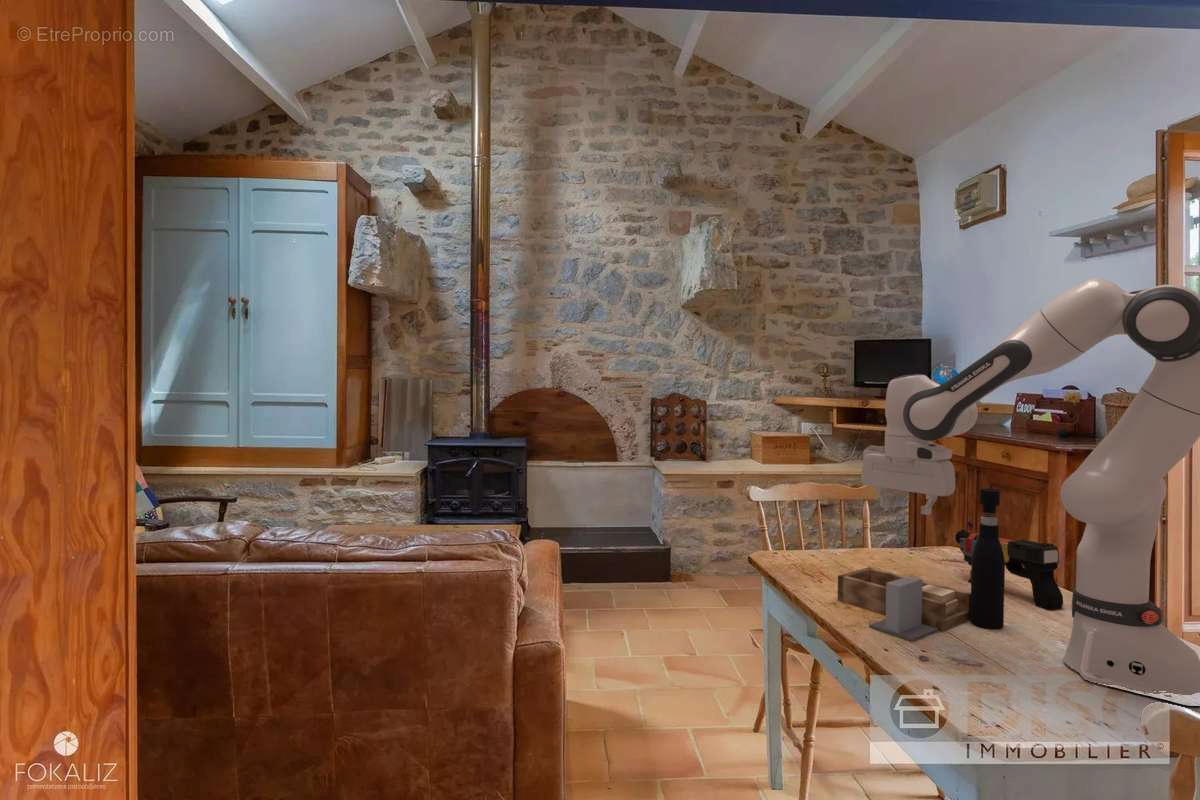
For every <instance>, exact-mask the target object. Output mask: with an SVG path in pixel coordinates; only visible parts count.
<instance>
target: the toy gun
mask: <svg viewBox="0 0 1200 800" xmlns="http://www.w3.org/2000/svg"><path fill="white" fill-rule="evenodd" d="M954 535H955V541H956V542H957V544H959V549H960V551H961V553H962V555H963V560H964V561H965V562H966V563H967V564H968V565H969V566H970V567H972V555H973V550H974V547H975V544H976V542H977V540H978V537H979V533H974V532H973V533H971V532H968V531H966V530H965V528H961V530H958V531H957V532H956V533H955V534H954ZM999 541H1000V544H1001V546H1002V549H1003V554H1004V559H1005V569H1006V570H1007V571H1008V572H1009V573H1010V574H1012V575H1015V576H1018V577H1020V578H1024V579H1028V580H1029V581H1030V583H1031V591H1032V598H1033V601H1034V606H1035V607H1037V608H1040V609H1044V610H1047V611H1049V610H1057V609H1063V606H1064V605H1063V604H1064V596H1063V594H1062V592H1061V589H1060V587H1059V586H1058V584H1057V582H1056V579H1055V573H1054V572H1055V570H1057V569H1058V567H1059V566H1058V564H1059V563H1060V560H1059V559H1060V558H1059V557H1060V553H1059V552H1060V551H1059V548H1058V546H1057V545H1054V544H1053V543H1049V542H1037V541H1032V540H1026V539H1019V540H1018V539H1017V540H1014V539H1007V538H1002V537H999ZM968 583H970V584H971V569H970V571H969V579H968Z"/></svg>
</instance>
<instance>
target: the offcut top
mask: <svg viewBox="0 0 1200 800" xmlns="http://www.w3.org/2000/svg"><path fill="white" fill-rule="evenodd" d="M922 597H926V598H930V599H933V600H937V601H941V602H945V603H948V602H950V601H953V600H955V591H953V590H949V589H945V588H941V587H937V586H933V585H926V586H923V587H922Z"/></svg>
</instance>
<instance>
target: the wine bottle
mask: <svg viewBox="0 0 1200 800" xmlns="http://www.w3.org/2000/svg"><path fill="white" fill-rule="evenodd" d="M1000 496H1001V491H1000V490H999V489H996V488H980V489H979V505H981V506H982V512H981V513H982V515H981V516H980V523H979V525H978V526H979V527H978V534H979V537H978V540H977V542H976V544H975V547H974V550H973V555H972V566H971V569H970V570H971V583H970V593H971V614H970V620H969V621H970V623H971V625H972V626H976V627H977V628H980V629H986V630H992V631H993V630H1001V629H1004V622H1005V621H1004V619H1005V618H1004V617H1005V616H1004V615H1005V581H1006V580H1005V578H1006V577H1005V576H1006V573H1005V572H1006V566H1005V559H1004V554H1003V549H1002V546H1001V544H1000V541H999V538H1000V537H999V535H1000V533H999V530H1000V529H999V528H1000V527H999V526H1000V525H999V522H998V520H999V519H998V516H997V507H998V506H1000V505H1001V503H1000V501H1001V500H1000V499H1001V497H1000Z"/></svg>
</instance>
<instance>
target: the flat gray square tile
mask: <svg viewBox="0 0 1200 800" xmlns="http://www.w3.org/2000/svg"><path fill="white" fill-rule="evenodd" d="M868 628H870V629H873V630H875V631H879V632H882V633H884V634H888V635H890V636H893V637H897V638H900V639H904V640H906V641H909V642H915V641H918V640H920V639H923V638H925V637H928V636H930V635H933V634H935V633H937V632H939V631H938V629H937V628H934V627H931V626H927V625H924V624H922V625H919V626H917V627H914V628H911V629H909V630H906V631H903V632H901V633H896V632H893V631H890V630H887V629H886V618H884V619H882V620H879V621H876V622H873V623H870V624H868Z"/></svg>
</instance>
